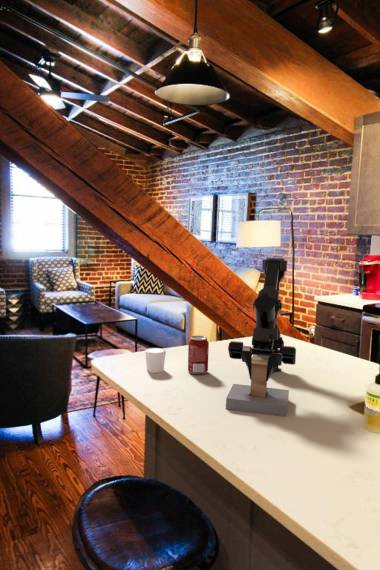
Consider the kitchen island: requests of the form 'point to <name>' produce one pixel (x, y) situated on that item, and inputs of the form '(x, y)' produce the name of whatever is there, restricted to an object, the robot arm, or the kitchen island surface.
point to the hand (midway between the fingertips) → (258, 379)
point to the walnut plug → (259, 376)
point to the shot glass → (155, 359)
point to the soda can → (198, 355)
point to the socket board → (258, 400)
